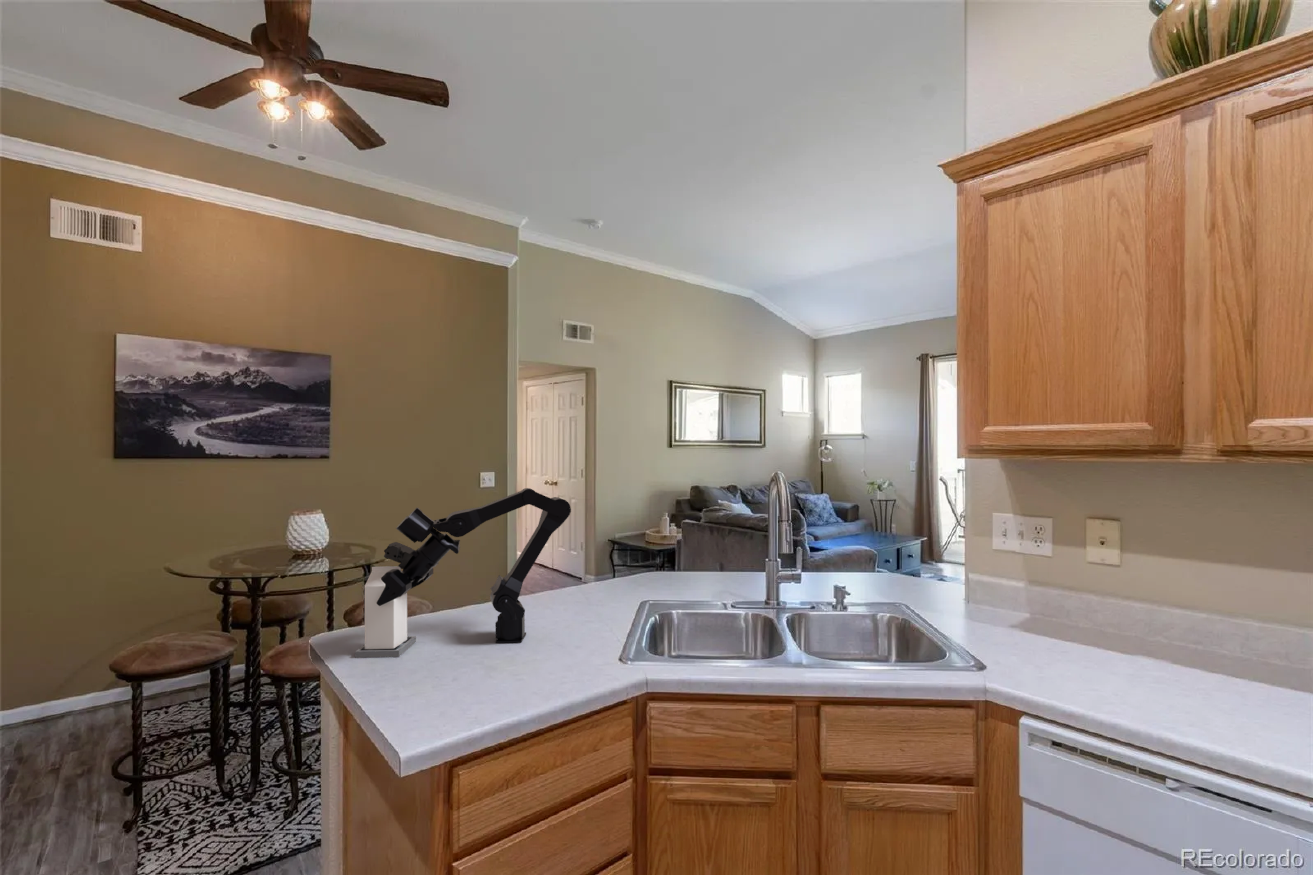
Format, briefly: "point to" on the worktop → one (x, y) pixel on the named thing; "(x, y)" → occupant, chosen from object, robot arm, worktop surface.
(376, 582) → the milk carton
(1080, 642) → the worktop surface
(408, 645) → the drip tray
